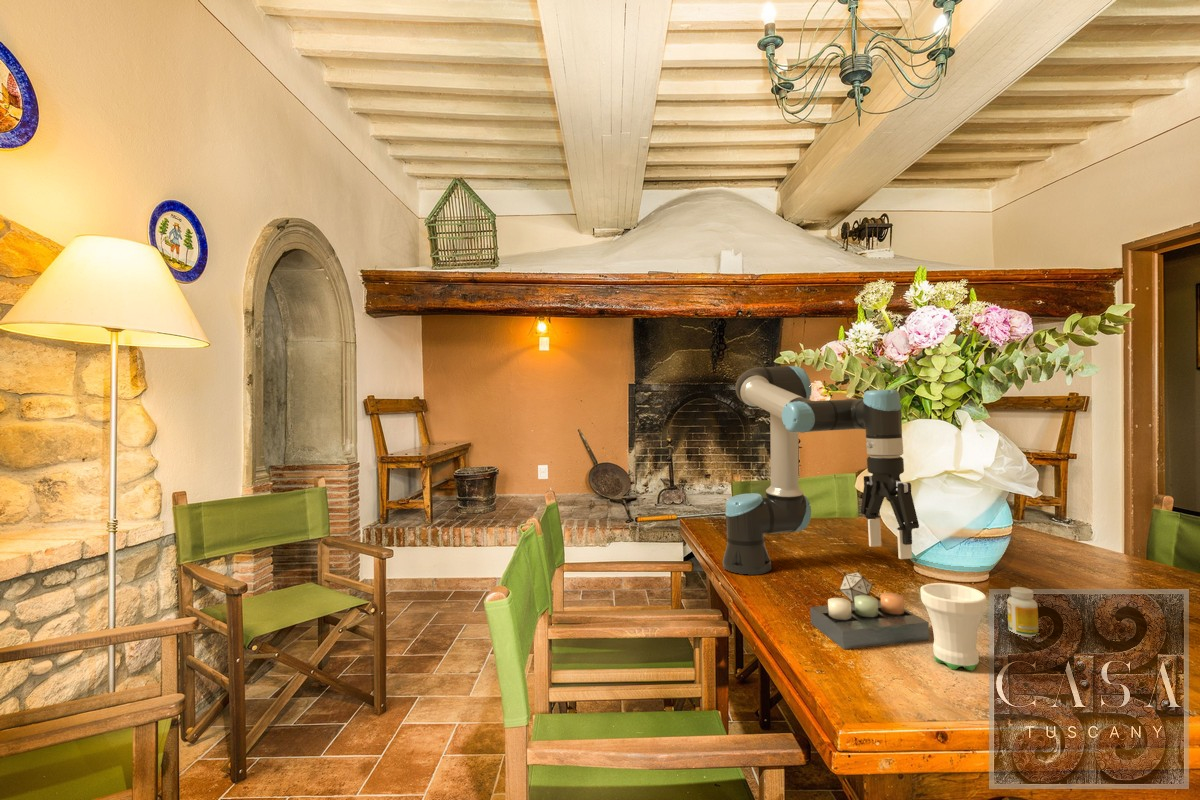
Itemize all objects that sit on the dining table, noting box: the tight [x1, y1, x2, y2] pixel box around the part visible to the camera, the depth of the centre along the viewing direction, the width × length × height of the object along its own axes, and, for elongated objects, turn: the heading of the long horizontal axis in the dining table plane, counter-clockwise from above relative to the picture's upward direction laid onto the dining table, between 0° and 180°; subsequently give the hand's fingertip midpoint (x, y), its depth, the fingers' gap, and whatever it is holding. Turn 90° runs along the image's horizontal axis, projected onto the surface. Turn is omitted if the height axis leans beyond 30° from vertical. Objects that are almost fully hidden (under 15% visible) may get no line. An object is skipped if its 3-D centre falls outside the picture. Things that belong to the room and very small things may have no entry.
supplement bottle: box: [1006, 586, 1040, 638], centre depth 121 cm, size 5×5×10 cm
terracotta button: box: [879, 592, 906, 614], centre depth 126 cm, size 5×5×3 cm
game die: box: [836, 569, 876, 603], centre depth 143 cm, size 9×8×10 cm
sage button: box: [854, 595, 879, 617], centre depth 125 cm, size 5×5×3 cm
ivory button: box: [827, 597, 852, 620], centre depth 124 cm, size 5×5×3 cm
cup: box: [920, 582, 988, 672], centre depth 109 cm, size 11×11×14 cm
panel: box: [809, 599, 930, 650], centre depth 125 cm, size 14×20×4 cm
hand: (889, 551), depth 126 cm, fingers open, 10 cm apart
